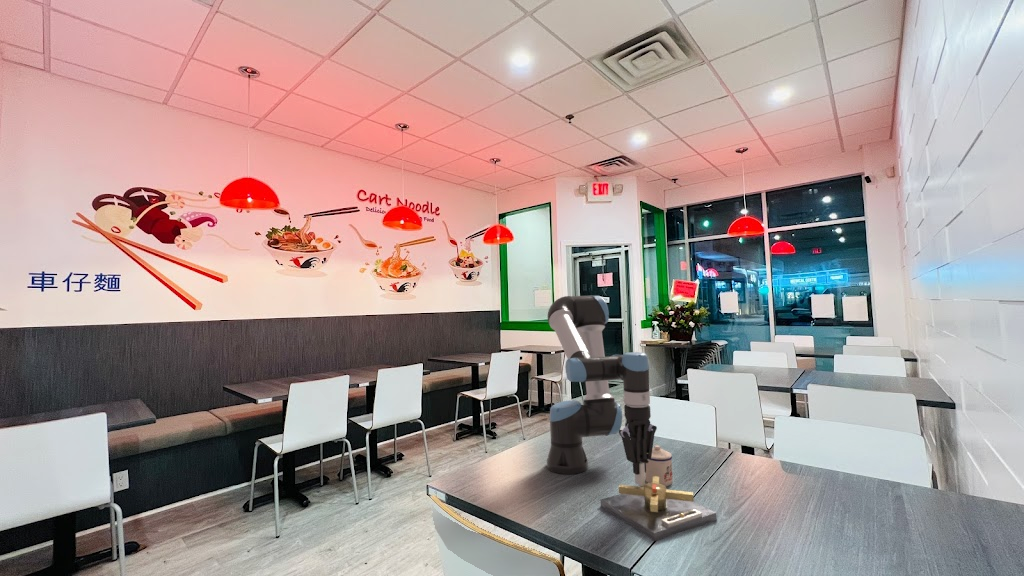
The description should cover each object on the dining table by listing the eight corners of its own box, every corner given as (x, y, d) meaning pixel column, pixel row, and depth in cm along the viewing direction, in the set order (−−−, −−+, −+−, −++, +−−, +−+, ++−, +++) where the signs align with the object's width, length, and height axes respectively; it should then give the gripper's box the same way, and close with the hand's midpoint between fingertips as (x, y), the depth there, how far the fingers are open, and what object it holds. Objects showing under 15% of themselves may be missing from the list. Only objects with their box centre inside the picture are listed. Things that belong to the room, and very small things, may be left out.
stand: (600, 506, 127) (600, 493, 128) (657, 490, 137) (656, 478, 137) (654, 541, 108) (654, 526, 108) (716, 520, 117) (715, 506, 117)
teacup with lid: (670, 489, 138) (668, 452, 138) (641, 484, 143) (640, 448, 143) (677, 476, 148) (675, 441, 149) (650, 471, 153) (648, 438, 153)
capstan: (623, 487, 135) (622, 468, 136) (692, 494, 128) (691, 474, 129) (615, 516, 116) (614, 494, 117) (696, 527, 110) (694, 503, 110)
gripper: (628, 410, 124) (631, 493, 123) (662, 404, 129) (665, 484, 129) (611, 404, 131) (614, 484, 130) (644, 399, 136) (647, 475, 135)
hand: (640, 484), depth 129 cm, fingers closed
